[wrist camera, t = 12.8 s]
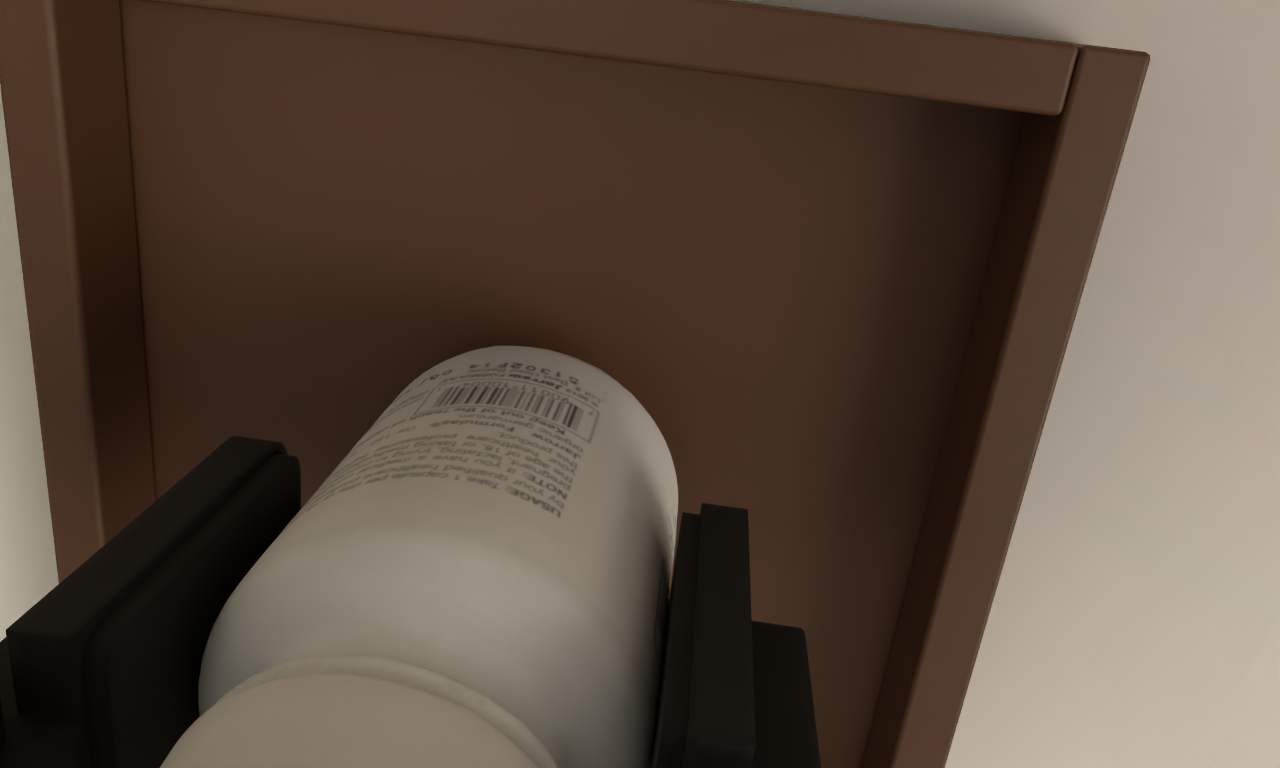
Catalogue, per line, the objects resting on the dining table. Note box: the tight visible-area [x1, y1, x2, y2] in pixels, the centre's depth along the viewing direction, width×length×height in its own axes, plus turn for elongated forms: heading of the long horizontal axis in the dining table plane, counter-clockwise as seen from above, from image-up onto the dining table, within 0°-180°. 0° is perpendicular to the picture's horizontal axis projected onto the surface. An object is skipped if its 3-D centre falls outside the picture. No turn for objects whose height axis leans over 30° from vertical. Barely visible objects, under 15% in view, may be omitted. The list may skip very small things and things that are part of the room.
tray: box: [0, 0, 1150, 768], centre depth 15 cm, size 14×14×2 cm
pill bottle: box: [160, 346, 678, 768], centre depth 10 cm, size 4×4×8 cm
